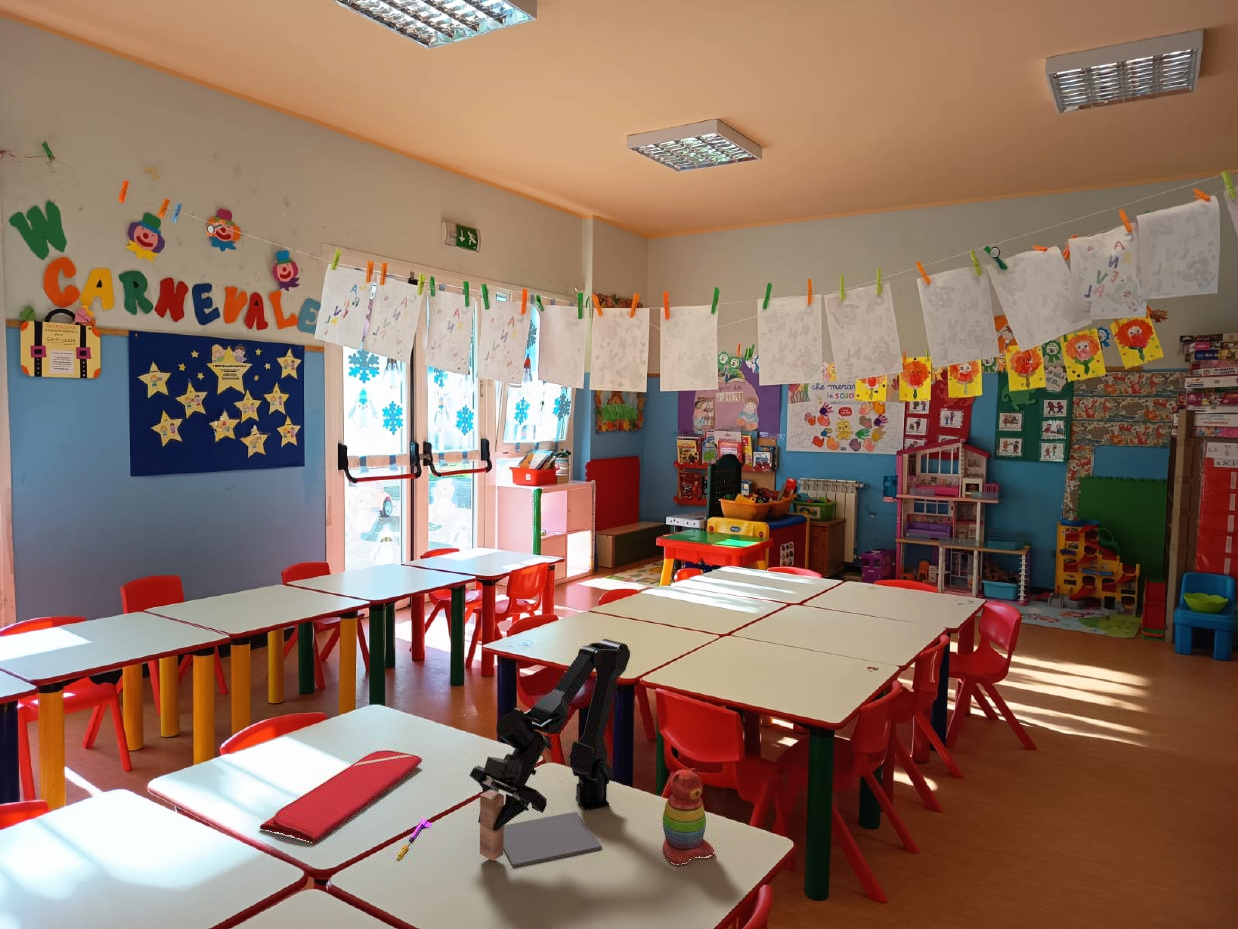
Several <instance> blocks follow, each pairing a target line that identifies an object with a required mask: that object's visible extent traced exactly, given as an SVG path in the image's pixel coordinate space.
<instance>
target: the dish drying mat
mask: <svg viewBox="0 0 1238 929" xmlns="http://www.w3.org/2000/svg"><path fill="white" fill-rule="evenodd" d="M422 762H423V759H422V757H420V756H418V755H415V754H411V753H406V752H400V751H397V750H396V751H395V750H387V749H385V750H376V751H374V752H371V753H369V754H367V755H365V756H364V757H362V758H360V759H359V760H357V761H356V762H355V763H353V764H351V765H350V766H348V767H346V768H344V769H343V770H341V771H340V772H338V773H337V774H335V775H333V776H331V778H329V779H327V780H325V781H324V782H322V783H321V784H319V785H317V786H316V787H315V788H313V789H310V790H309V791H308V792H307V793H305V794H303V795H301V796H300V797H298V798H297V799H295V800H294V801H292V802H289V803H288V804H287V805H285V806H283V807H281V808H280V809H279V810H277V811H276V813H275V814H274V816H273V817H271V818H269V819H267V820H266V821H265V822H264V823H262V824H261V825H259V830H260V829H263V830H269V831H272V832H279V833H283V834H285V835H292V836H294V837H295V838H300V839H303V840H306V841H309V842H312V843H314V844H315V843H317V842H318V841H320V840H321V839H322V838H324V837H326V836H325V835H328V834H330V833H331V832H333V831H334V830H335V829H337V828H338V827H340V826H341V825H343V824H344V823H346V822H347V821H348V820H350V819H351V818H352V817H353V816H355V815H356V814H358V813H359V812H360V811H362V810H363V809H364V808H365V807H368V805H370V804H371V803H372V802H374V801H375V800H376V799H377V798H379V797H381V796H382V795H383V794H385V793H386V792H387V791H388V790H390V789H391V788H393V787H394V786H395V785H396V784H397V783H399V782H400V781H401V780H403V779H404V778H405V777H406V776H408V775H409V774H410V773H411V772H413V771H414V770H415V769H416V768H417V767H418V766H419V765H420V764H421V763H422ZM319 839H320V840H319Z"/></svg>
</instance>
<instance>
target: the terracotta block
mask: <svg viewBox="0 0 1238 929" xmlns="http://www.w3.org/2000/svg"><path fill="white" fill-rule="evenodd" d="M479 798H480V799H479V815H480V823H479V855H481V856H483V857H485V858H487V859H489V860H490V861H496V860H497V859H498V858H501V857H503V856H504V849H503V848H504V826H502V827H501V828H500V829H499V830H497V831H494V830H493V826H494V824H495V822H496V820H497V818H498V816H499V814H500V812H501V810H502V808H503V807H504V805H505V795H504V794H502V793H499V792H496V791H493V790H488V791H486V792H484V793H483V792H482V793H481V794H479Z"/></svg>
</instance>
